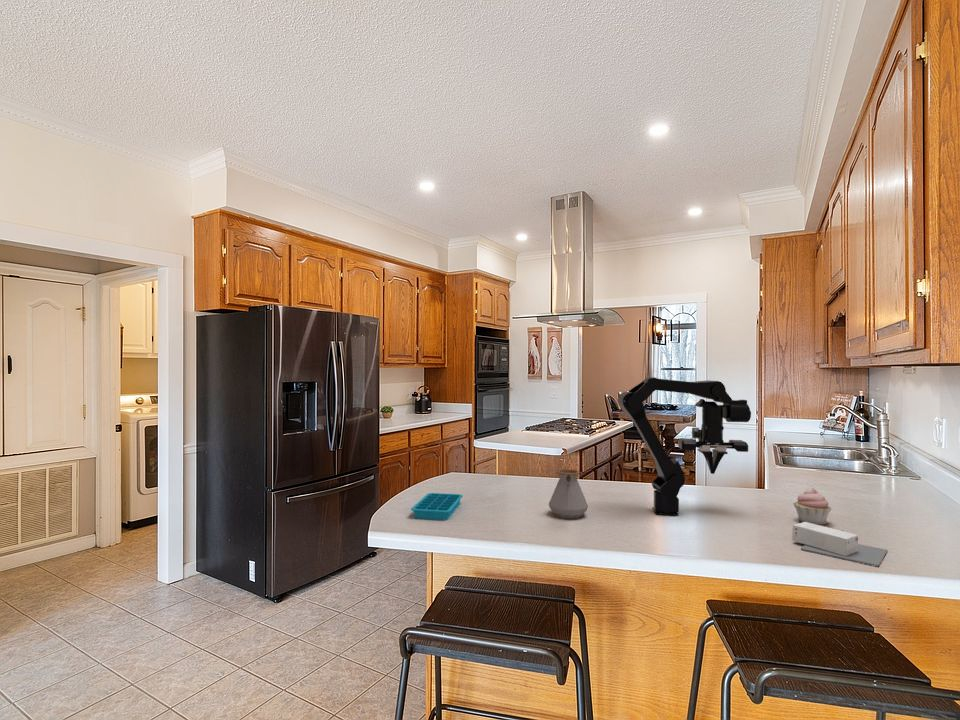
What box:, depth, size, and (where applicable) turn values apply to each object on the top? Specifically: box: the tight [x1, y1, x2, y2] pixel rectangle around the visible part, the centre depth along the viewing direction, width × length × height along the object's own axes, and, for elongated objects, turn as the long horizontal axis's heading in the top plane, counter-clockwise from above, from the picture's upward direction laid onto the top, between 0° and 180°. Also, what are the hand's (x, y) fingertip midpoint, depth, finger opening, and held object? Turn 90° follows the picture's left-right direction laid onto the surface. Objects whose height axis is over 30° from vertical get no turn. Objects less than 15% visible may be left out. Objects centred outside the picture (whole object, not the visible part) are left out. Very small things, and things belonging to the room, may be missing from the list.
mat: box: [800, 543, 888, 567], centre depth 125 cm, size 15×14×1 cm
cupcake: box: [792, 487, 833, 526], centre depth 148 cm, size 9×9×10 cm
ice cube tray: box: [410, 492, 464, 521], centre depth 157 cm, size 12×20×3 cm, turn 170°
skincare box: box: [791, 522, 859, 556], centre depth 126 cm, size 6×4×12 cm
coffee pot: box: [548, 469, 589, 519], centre depth 149 cm, size 21×12×15 cm, turn 170°
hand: (712, 473), depth 156 cm, fingers closed
